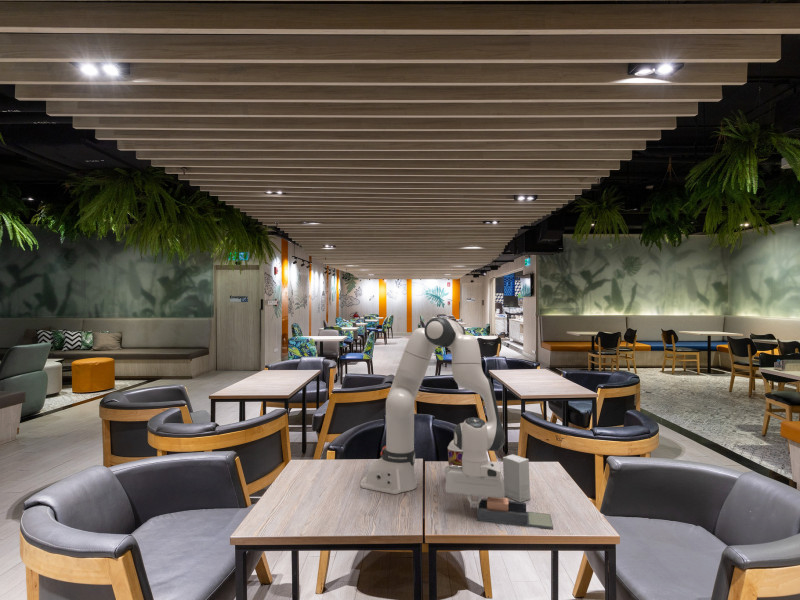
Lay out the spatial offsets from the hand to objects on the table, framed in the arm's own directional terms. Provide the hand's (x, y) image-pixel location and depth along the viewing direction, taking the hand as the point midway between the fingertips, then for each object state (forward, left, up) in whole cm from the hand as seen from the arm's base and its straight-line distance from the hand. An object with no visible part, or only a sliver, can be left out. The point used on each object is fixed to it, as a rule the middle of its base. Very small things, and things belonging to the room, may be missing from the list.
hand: (474, 507), depth 157 cm
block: (+8, 0, -2) cm, 8 cm away
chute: (+13, 0, -2) cm, 13 cm away
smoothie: (-9, +28, -2) cm, 30 cm away
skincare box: (+14, +18, -2) cm, 23 cm away
